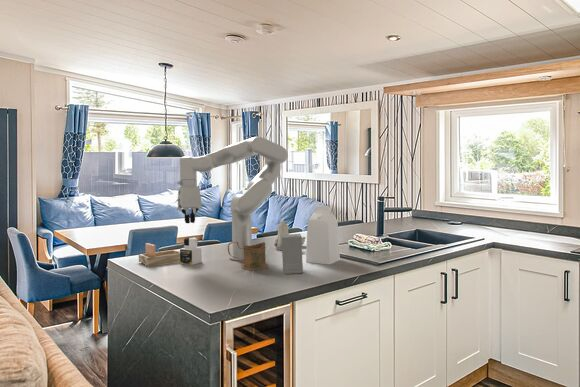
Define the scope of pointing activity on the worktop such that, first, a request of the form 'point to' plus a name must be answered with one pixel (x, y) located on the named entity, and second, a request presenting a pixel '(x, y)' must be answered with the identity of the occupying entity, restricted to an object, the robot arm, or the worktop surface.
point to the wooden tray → (161, 258)
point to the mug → (253, 256)
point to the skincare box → (292, 254)
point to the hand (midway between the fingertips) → (190, 222)
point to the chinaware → (283, 231)
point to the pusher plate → (150, 250)
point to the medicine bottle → (190, 252)
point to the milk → (322, 237)
